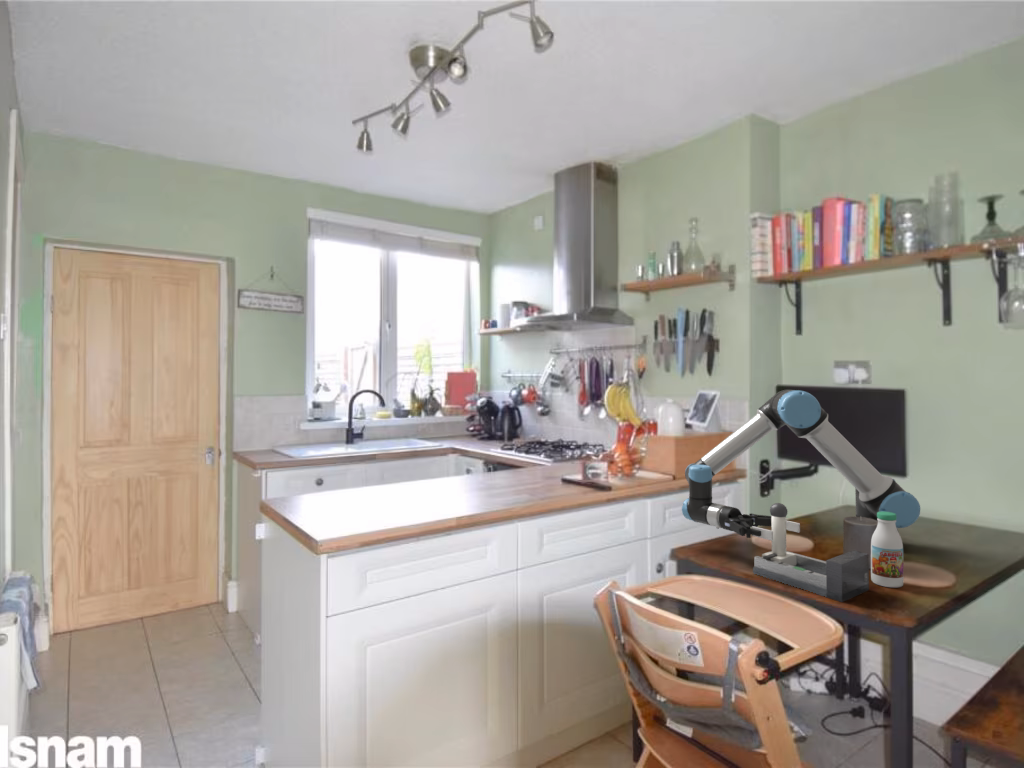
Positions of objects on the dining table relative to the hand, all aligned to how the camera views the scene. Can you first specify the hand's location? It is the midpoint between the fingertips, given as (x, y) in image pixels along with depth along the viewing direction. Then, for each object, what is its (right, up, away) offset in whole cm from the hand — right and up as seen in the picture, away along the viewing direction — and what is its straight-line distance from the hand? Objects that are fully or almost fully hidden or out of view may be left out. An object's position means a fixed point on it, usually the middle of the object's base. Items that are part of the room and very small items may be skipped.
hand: (786, 531), depth 171 cm
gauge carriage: (-2, -11, +2) cm, 11 cm away
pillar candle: (+27, -12, +8) cm, 31 cm away
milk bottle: (+25, -13, -8) cm, 29 cm away
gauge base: (+4, -13, -5) cm, 14 cm away
